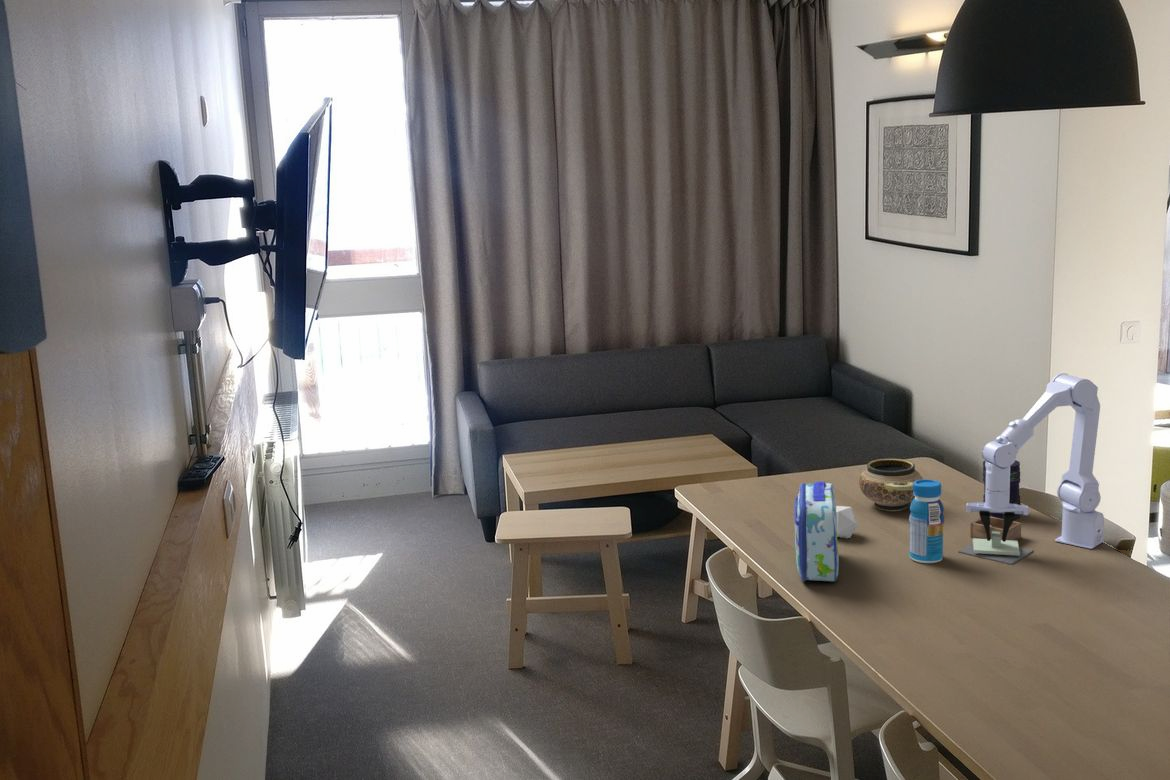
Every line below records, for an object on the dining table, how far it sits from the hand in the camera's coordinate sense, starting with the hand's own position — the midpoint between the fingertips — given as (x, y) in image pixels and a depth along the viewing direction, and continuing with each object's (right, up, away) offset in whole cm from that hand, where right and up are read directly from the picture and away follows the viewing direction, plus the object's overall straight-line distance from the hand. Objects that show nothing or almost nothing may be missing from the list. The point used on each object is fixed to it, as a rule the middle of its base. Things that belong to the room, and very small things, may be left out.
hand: (996, 539), depth 275 cm
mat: (0, -3, +1) cm, 3 cm away
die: (-35, -2, +18) cm, 40 cm away
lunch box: (-47, -7, -4) cm, 47 cm away
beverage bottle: (-18, -5, -1) cm, 19 cm away
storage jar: (+12, +3, +28) cm, 31 cm away
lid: (0, -2, +1) cm, 2 cm away
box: (+4, -1, +11) cm, 12 cm away
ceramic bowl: (-15, +4, +40) cm, 43 cm away
